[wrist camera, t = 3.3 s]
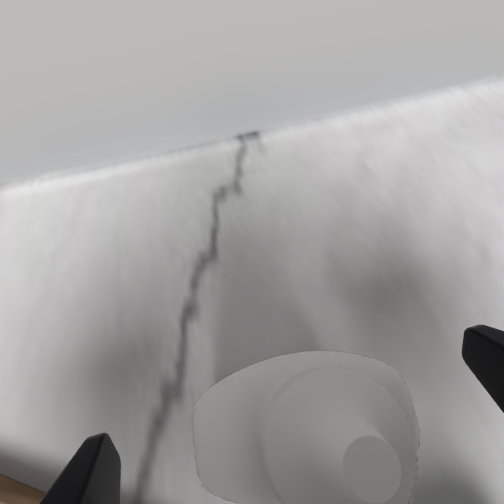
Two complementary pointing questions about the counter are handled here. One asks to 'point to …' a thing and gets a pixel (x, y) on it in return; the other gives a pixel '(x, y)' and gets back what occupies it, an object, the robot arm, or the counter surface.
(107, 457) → the robot arm
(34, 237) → the counter surface
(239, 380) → the eye dropper bottle
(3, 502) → the walnut square frame
